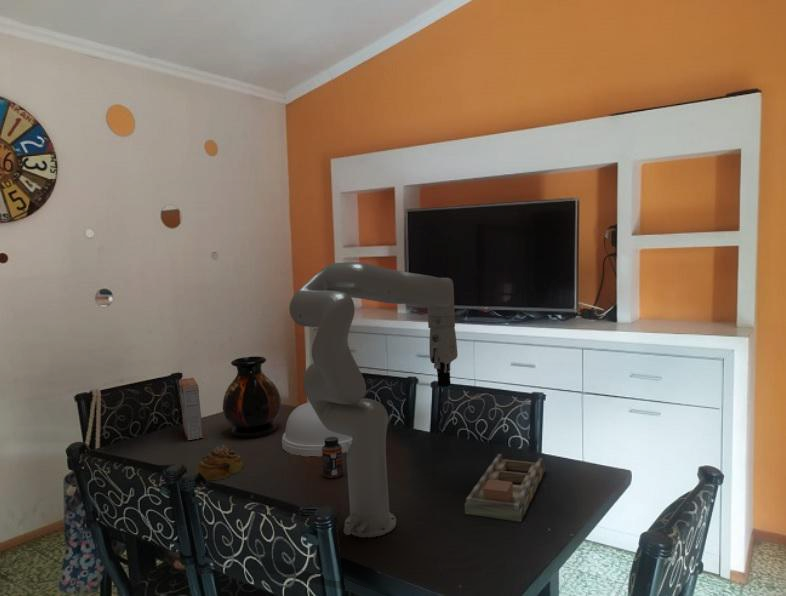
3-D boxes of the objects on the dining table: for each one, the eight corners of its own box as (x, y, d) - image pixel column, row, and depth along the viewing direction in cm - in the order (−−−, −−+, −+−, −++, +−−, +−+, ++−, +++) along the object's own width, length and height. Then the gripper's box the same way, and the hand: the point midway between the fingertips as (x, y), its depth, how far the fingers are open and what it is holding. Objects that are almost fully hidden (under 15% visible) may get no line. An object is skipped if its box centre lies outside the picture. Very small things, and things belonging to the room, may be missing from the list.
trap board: (520, 521, 141) (520, 505, 141) (465, 513, 147) (464, 498, 147) (544, 471, 170) (544, 458, 170) (497, 466, 176) (496, 453, 176)
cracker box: (182, 432, 228) (178, 379, 226) (199, 429, 231) (194, 376, 229) (186, 442, 215) (181, 386, 214) (203, 439, 218) (198, 383, 216)
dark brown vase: (224, 428, 230) (218, 357, 228) (279, 420, 237) (274, 351, 234) (225, 445, 210) (219, 368, 207) (286, 435, 216) (280, 361, 214)
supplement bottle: (340, 479, 173) (337, 442, 172) (320, 478, 175) (318, 441, 173) (345, 471, 179) (343, 435, 178) (327, 471, 180) (324, 435, 179)
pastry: (250, 465, 190) (249, 441, 189) (222, 483, 176) (220, 457, 175) (216, 462, 194) (214, 438, 193) (186, 479, 180) (183, 454, 179)
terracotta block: (507, 507, 144) (506, 491, 144) (483, 504, 146) (483, 488, 146) (513, 497, 149) (512, 481, 149) (489, 494, 152) (489, 479, 151)
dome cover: (265, 441, 212) (262, 403, 210) (336, 422, 230) (333, 387, 229) (310, 465, 187) (307, 422, 185) (385, 441, 205) (383, 402, 204)
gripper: (444, 325, 157) (446, 393, 158) (463, 318, 170) (465, 380, 172) (418, 325, 160) (421, 391, 162) (439, 318, 173) (441, 379, 175)
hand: (444, 385), depth 167 cm, fingers closed
